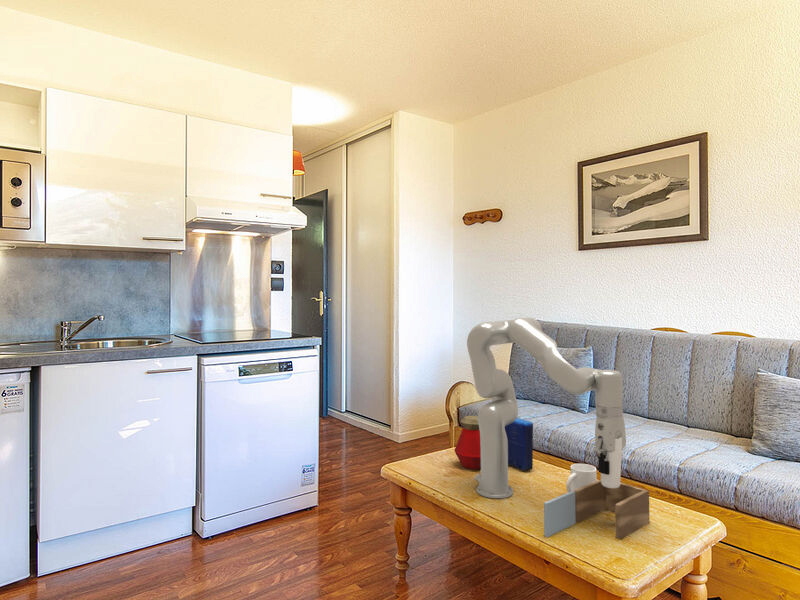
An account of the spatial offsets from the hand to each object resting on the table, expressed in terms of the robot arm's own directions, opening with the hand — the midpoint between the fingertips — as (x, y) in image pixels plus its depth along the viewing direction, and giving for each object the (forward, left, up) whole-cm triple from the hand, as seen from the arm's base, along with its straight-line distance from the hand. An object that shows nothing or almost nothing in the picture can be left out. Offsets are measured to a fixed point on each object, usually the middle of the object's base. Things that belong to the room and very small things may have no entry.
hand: (610, 470), depth 147 cm
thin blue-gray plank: (-7, -16, -16) cm, 23 cm away
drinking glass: (0, 0, -5) cm, 5 cm away
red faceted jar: (-62, +5, -16) cm, 64 cm away
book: (-50, +18, -16) cm, 56 cm away
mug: (-16, +9, -16) cm, 24 cm away
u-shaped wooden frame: (0, +1, -16) cm, 16 cm away
